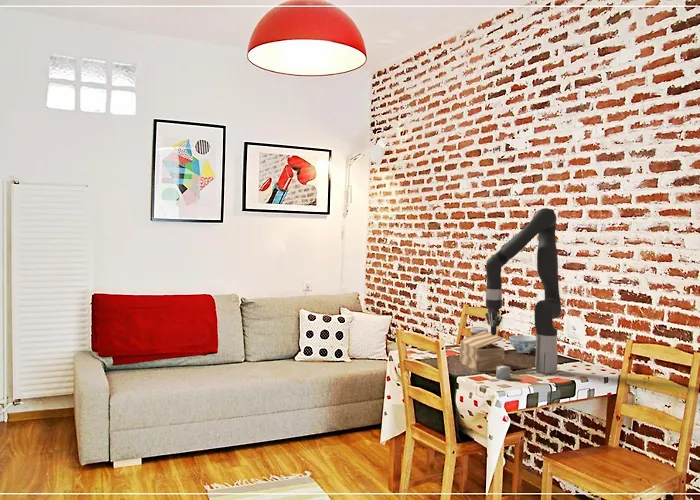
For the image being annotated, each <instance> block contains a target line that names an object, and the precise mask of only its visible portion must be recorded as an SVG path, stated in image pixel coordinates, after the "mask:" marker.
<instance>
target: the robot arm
mask: <svg viewBox="0 0 700 500" xmlns="http://www.w3.org/2000/svg"><path fill="white" fill-rule="evenodd" d="M556 224H557V215H556V213H555V212H554V210H552V209H551V208H547V207H546V208H545V207H544V208H540V209H539V210H538V211H537V212H536V213H535V214H534V216H533V217H532V219H531V220H530V221H529V222H528V223H527V225H526V226H524V227H523V228H522V229H521V230H520V231H518V232H517V234H515V235H514V236H513V237H511V239H509V240H508V241H507V242H506V243H505V244H504V245H502V246H501V248H500V249H499V250H497V252H495V253H494V254H493V255H492V256H491V257H489V258H488V259H487V260H486V263H485V265H486V266H485V267H486V268H485V271H486V292H485V308H486V309H487V312H486V313H485V317H486V321H487V324H488V325H489V326H490V333H491V334H492V335H497V327H499V326H500V324H501V322H502V321H503V316H500V314H501V312H500V310H501V309H503V291H502V289H503V288H502V287H503V285H502V284H503V281H502V280H503V279H502V268H503V267H504V266H505V265H506V264H507V263H508V262H509V261H510V260H511V259H513V258H514V257H515V256H517V254H519V253H520V252H521V251H522V250H523V249H524V248H525V247H526V246H527V245H528V244H529V243H530V242H531V240H533V239H534V238H535V237H536V236H537V235H538V244H537V252H536V269H537V270H536V271H537V275H538V276H539V279H540V281H541V283H542V286H543V289H544V299H543V300H539V301H537V302H536V304H535V307H534V328H535V331H536V333H535V337H536V347H535V365H534V370H535V372H537V373H541V374H545V375H546V374H557V373H558V353H559V352H558V350H557V349H558V348H557V347H558V329H557V327H555V326H554V324H553V320H555V319H557V318H559V317H560V315H561V313H562V302H561V296H560V289H559V287H560V286H559V285H560V282H559V259H558V250H557V243H556V227H557V226H556Z"/></svg>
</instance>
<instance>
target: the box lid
mask: <svg viewBox="0 0 700 500" xmlns="http://www.w3.org/2000/svg"><path fill="white" fill-rule="evenodd" d="M501 340H504V337H501V336H500V335H498V334H496V335H492V334H491V332H489V331H488V332H487V331H484V332H481V333H478V334H476V335H473V336H471V335H470V336H468V337H466V338H464V339H461V340H459V343H460V342H461V343H464V344H466V345H468V346H470V347H472V348H475V349H479V348H482V347H484V346H487V345H489V344H495V343H497V342H499V341H501Z"/></svg>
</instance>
